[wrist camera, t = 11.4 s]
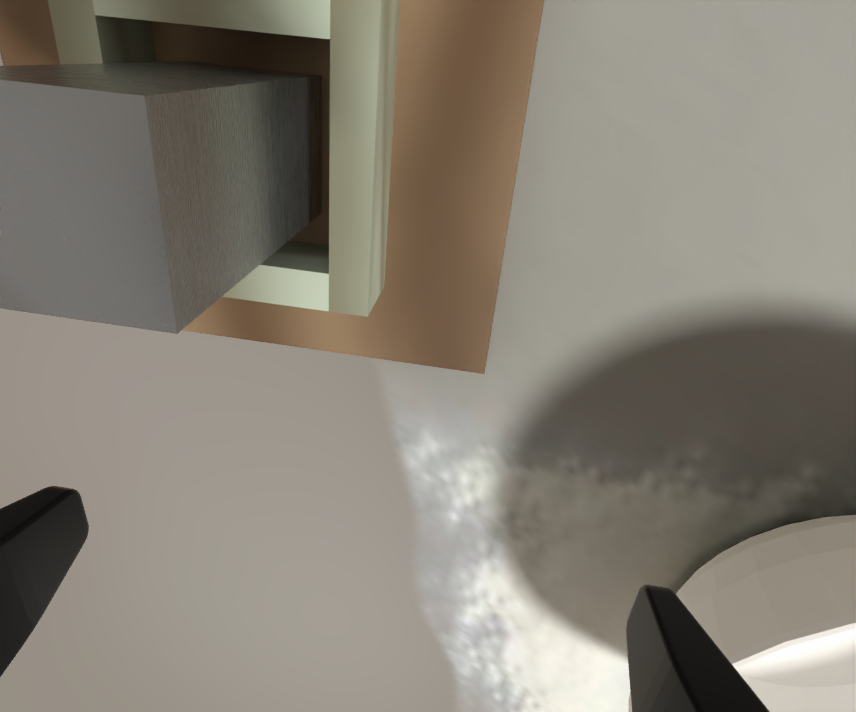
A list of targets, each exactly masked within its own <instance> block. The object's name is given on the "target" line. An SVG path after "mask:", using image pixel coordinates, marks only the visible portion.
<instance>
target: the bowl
mask: <svg viewBox="0 0 856 712" xmlns="http://www.w3.org/2000/svg"><path fill="white" fill-rule="evenodd" d="M676 595H677V596H678V598H679V599H680V600H681V601H682V603H683V604H684V605H685V606H686V608H687V609H688V610H689V611H690V613H691V614H692V615H693V616H694V618H695V619H696V620H697V621H698V623H699V624H700V625H701V626H702V628H703V629H704V630H705V631H706V633H707V634H708V635H709V636H710V638H711V639H712V640H713V641H714V643H715V644H716V645H717V646H718V648H719V649H720V650H721V651H722V653H723V654H724V655H725V656H726V658H727V659H728V660H729V661H730V663H731V664H732V665H733V666H734V668H735V669H736V670H737V671H738V673H739V674H740V675H741V676H742V678H743V679H744V680H745V681H746V683H747V684H748V685H749V686H750V688H751V689H752V690H753V691H754V693H755V694H756V695H757V696H758V698H759V699H760V700H761V701H762V703H763V704H764V705H765V706H766V708H767V709H768V710H769V711H770V712H856V515H846V516H833V517H822V518H818V519H813V520H808V521H803V522H798V523H793V524H788V525H784V526H782V527H779V528H776V529H773V530H770V531H767V532H764V533H761V534H758V535H756V536H753V537H750V538H748V539H746V540H744V541H742V542H740V543H738V544H737V545H735V546H733V547H731V548H729V549H727V550H725V551H723V552H721V553H720V554H718V555H717V556H716V557H714V558H713V559H712V560H710V561H709V562H707V563H706V564H705V565H703V566H702V567H701V568H699V569H698V570H697V571H696V572H695V573H694V574H693V575H692V576H691V577H690V578H689V579H688V581H687V582H686V583H685V584H684V585H683V586H682V587H681V588H680V589H679V590H678V592H677V593H676ZM629 712H632V703H631V692H630V696H629Z"/></svg>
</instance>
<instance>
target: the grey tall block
mask: <svg viewBox="0 0 856 712" xmlns="http://www.w3.org/2000/svg"><path fill="white" fill-rule="evenodd" d="M321 213H322V75H314V74H304V73H295V72H286V71H276V70H267V69H257V68H248V67H239V66H229V65H220V64H211V63H201V62H192V61H177V62H137V63H96V64H56V65H15V66H0V308H3V309H9V310H16V311H23V312H30V313H37V314H44V315H51V316H58V317H65V318H71V319H79V320H86V321H93V322H100V323H106V324H113V325H120V326H128V327H134V328H141V329H148V330H155V331H162V332H169V333H176V334H178V333H179V332H180V331H181V330H182V329H184V328H185V327H186V326H187V325H188V324H190V323H191V322H192V321H193V320H194V319H195V318H197V317H198V316H199V315H200V314H201V313H203V312H204V311H205V310H206V309H207V308H209V307H210V306H211V305H212V304H213V303H215V302H216V301H217V300H218V299H219V298H221V297H222V296H223V295H224V294H225V293H227V292H228V291H229V290H230V289H231V288H233V287H234V286H235V285H236V284H237V283H239V282H240V281H241V280H242V279H243V278H245V277H246V276H247V275H248V274H249V273H251V272H252V271H253V270H254V269H255V268H257V267H258V266H259V265H260V264H261V263H263V262H264V261H265V260H266V259H267V258H269V257H270V256H271V255H272V254H273V253H275V252H276V251H277V250H278V249H279V248H281V247H282V246H283V245H284V244H285V243H286V242H288V241H289V240H290V239H291V238H292V237H294V236H295V235H296V234H297V233H298V232H300V231H301V230H302V229H303V228H304V227H306V226H307V225H308V224H309V223H310V222H312V221H313V220H314V219H315V218H316V217H318V216H319V215H320V214H321Z"/></svg>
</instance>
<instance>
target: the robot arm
mask: <svg viewBox="0 0 856 712" xmlns="http://www.w3.org/2000/svg"><path fill="white" fill-rule="evenodd" d="M88 528H89V525H88V521H87V518H86V514H85V510H84V506H83V503H82V499H81V496H80V494H79V492H78V491H77V490H74V489H70V488H64V487H58V486H51V487H47V488H44V489H42V490H40V491H38V492H36V493H34V494H31V495H29V496H27V497H25V498H23V499H21V500H18V501H16V502H14V503H12V504H10V505H8V506H6V507H3V508H1V509H0V677H1V675H2V674H3V673H4V671H5V670H6V668H7V667H8V666H9V664H10V663H11V661H12V660H13V658H14V657H15V656H16V654H17V653H18V651H19V650H20V649H21V647H22V646H23V644H24V643H25V641H26V640H27V638H28V637H29V635H30V634H31V632H32V631H33V629H34V628H35V626H36V625H37V623H38V621H39V620H40V618H41V617H42V615H43V613H44V612H45V610H46V608H47V606H48V605H49V603H50V601H51V600H52V598H53V596H54V594H55V593H56V591H57V589H58V587H59V585H60V584H61V582H62V581H63V579H64V577H65V575H66V573H67V572H68V570H69V568H70V566H71V565H72V563H73V561H74V560H75V558H76V556H77V554H78V553H79V551H80V549H81V548H82V546H83V544H84V542H85V540H86V538H87V535H88ZM626 636H627V650H628V663H629V677H630V690H631V703H632V712H770V711H769V710H768V709H767V708H766V706H765V705H764V704H763V703H762V701H761V700H760V699H759V698H758V696H757V695H756V694H755V693H754V691H753V690H752V689H751V688H750V686H749V685H748V684H747V683H746V681H745V680H744V679H743V678H742V676H741V675H740V674H739V673H738V671H737V670H736V669H735V668H734V666H733V665H732V664H731V663H730V661H729V660H728V659H727V658H726V656H725V655H724V654H723V653H722V651H721V650H720V649H719V648H718V646H717V645H716V644H715V643H714V641H713V640H712V639H711V638H710V636H709V635H708V634H707V633H706V631H705V630H704V629H703V628H702V626H701V625H700V624H699V623H698V621H697V620H696V619H695V618H694V616H693V615H692V614H691V613H690V611H689V610H688V609H687V608H686V606H685V605H684V604H683V603H682V601H681V600H680V599H679V598H678V596H677V595H676V594H675V593H674V592H673V591H672V590H670V589H668V588H664V587H658V586H652V585H644V586H642V587H641V588H640V590H639V592H638V595H637V597H636V600H635V602H634V605H633V608H632V610H631V613H630V615H629V618H628V621H627V628H626Z"/></svg>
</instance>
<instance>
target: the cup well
mask: <svg viewBox="0 0 856 712" xmlns="http://www.w3.org/2000/svg"><path fill="white" fill-rule="evenodd" d="M543 3H544V0H0V51H1V55H2V59H3V63H4V66H15V65H56V64H96V63H137V62H177V61H192V62H201V63H211V64H220V65H229V66H239V67H248V68H257V69H267V70H276V71H286V72H295V73H304V74H314V75H322V213H321V214H320V215H319V216H318V217H316V218H315V219H314V220H313V221H312V222H310V223H309V224H308V225H307V226H306V227H304V228H303V229H302V230H301V231H300V232H298V233H297V234H296V235H295V236H294V237H292V238H291V239H290V240H289V241H288V242H286V243H285V244H284V245H283V246H282V247H281V248H279V249H278V250H277V251H276V252H275V253H273V254H272V255H271V256H270V257H269V258H267V259H266V260H265V261H264V262H263V263H261V264H260V265H259V266H258V267H257V268H255V269H254V270H253V271H252V272H251V273H249V274H248V275H247V276H246V277H245V278H243V279H242V280H241V281H240V282H239V283H237V284H236V285H235V286H234V287H233V288H231V289H230V290H229V291H228V292H227V293H225V294H224V295H223V296H222V297H221V298H219V299H218V300H217V301H216V302H215V303H213V304H212V305H211V306H210V307H209V308H207V309H206V310H205V311H204V312H203V313H201V314H200V315H199V316H198V317H197V318H195V319H194V320H193V321H192V322H191V323H190V324H188V325H187V326H186V327H185V328H184V329H182V330H184V331H191V332H198V333H205V334H212V335H219V336H226V337H233V338H240V339H246V340H254V341H261V342H268V343H275V344H281V345H289V346H295V347H302V348H309V349H316V350H323V351H330V352H337V353H344V354H350V355H357V356H364V357H371V358H378V359H385V360H392V361H399V362H406V363H413V364H420V365H427V366H434V367H441V368H448V369H455V370H461V371H468V372H475V373H482V374H484V373H485V367H486V360H487V354H488V348H489V341H490V335H491V329H492V323H493V316H494V310H495V304H496V298H497V291H498V285H499V279H500V273H501V266H502V260H503V254H504V247H505V241H506V235H507V229H508V222H509V216H510V210H511V204H512V197H513V191H514V185H515V179H516V172H517V166H518V160H519V153H520V147H521V141H522V135H523V128H524V122H525V116H526V110H527V103H528V97H529V91H530V85H531V78H532V72H533V66H534V59H535V53H536V47H537V41H538V34H539V28H540V22H541V16H542V9H543Z"/></svg>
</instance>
